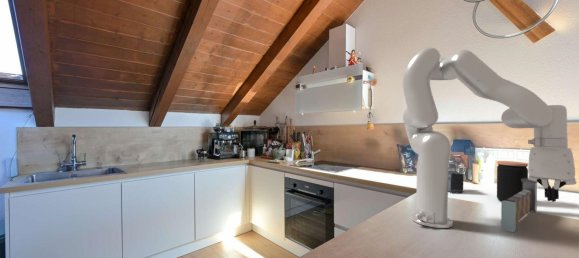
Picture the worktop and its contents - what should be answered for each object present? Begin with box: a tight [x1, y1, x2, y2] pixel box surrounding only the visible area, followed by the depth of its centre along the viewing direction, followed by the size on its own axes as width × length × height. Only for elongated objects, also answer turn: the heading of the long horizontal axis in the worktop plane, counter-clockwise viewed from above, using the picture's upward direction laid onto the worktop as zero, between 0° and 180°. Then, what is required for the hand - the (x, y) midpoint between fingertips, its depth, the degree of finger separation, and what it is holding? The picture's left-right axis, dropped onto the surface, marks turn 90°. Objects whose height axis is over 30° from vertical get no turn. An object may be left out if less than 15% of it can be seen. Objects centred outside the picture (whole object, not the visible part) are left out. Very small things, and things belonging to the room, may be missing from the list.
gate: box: [507, 189, 531, 224], centre depth 90 cm, size 27×2×8 cm, turn 127°
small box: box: [448, 170, 465, 195], centre depth 134 cm, size 11×6×10 cm, turn 168°
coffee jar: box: [496, 160, 529, 202], centre depth 115 cm, size 11×11×18 cm
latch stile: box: [500, 200, 517, 233], centre depth 81 cm, size 3×3×9 cm
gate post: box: [521, 178, 539, 214], centre depth 100 cm, size 4×4×13 cm
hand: (551, 200), depth 81 cm, fingers closed
